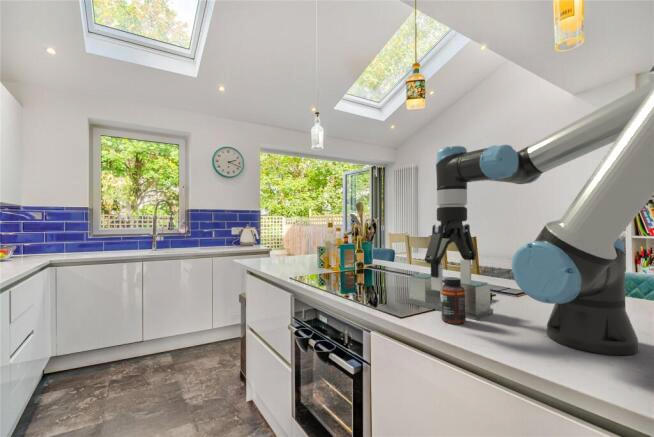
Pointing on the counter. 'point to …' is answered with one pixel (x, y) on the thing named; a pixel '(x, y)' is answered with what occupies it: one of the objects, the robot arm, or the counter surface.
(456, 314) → the supplement bottle
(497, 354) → the counter surface
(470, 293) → the rail
